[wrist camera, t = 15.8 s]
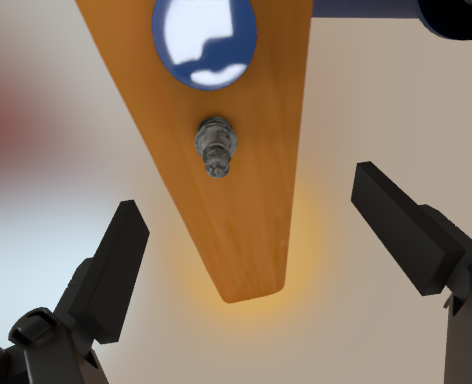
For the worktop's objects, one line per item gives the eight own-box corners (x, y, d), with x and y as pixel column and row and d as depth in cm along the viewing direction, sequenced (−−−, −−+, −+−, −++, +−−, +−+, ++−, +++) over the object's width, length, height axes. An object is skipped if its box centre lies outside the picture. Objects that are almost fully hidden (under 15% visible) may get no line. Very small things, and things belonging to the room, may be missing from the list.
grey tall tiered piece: (207, 106, 35) (206, 141, 25) (242, 126, 37) (254, 166, 27) (189, 140, 37) (182, 184, 28) (222, 157, 40) (227, 203, 30)
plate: (275, 25, 30) (277, 26, 29) (216, 106, 35) (217, 109, 34) (190, -64, 25) (189, -68, 24) (135, 45, 30) (132, 46, 29)
